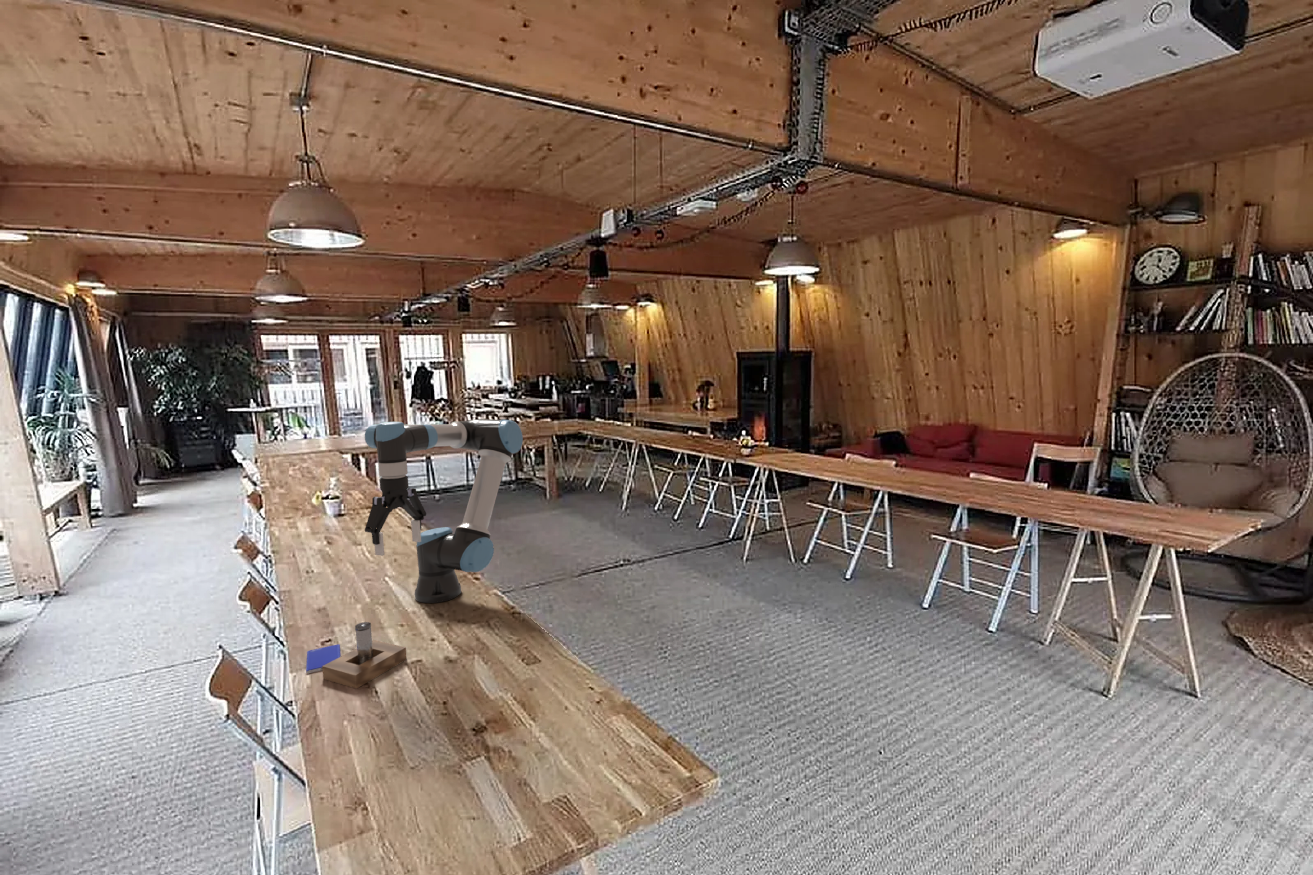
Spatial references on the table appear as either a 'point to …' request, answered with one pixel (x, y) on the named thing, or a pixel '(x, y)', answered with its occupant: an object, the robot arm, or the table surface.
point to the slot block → (364, 665)
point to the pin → (364, 642)
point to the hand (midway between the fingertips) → (398, 548)
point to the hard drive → (321, 657)
